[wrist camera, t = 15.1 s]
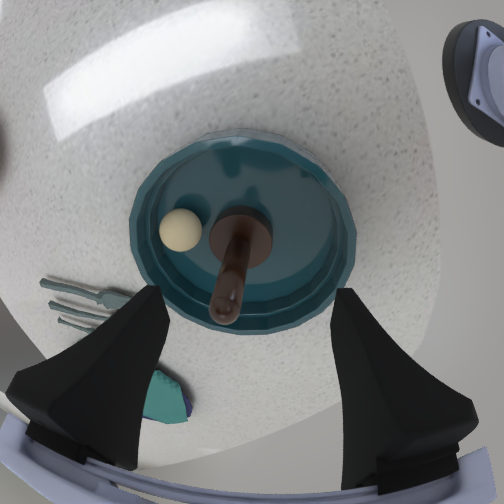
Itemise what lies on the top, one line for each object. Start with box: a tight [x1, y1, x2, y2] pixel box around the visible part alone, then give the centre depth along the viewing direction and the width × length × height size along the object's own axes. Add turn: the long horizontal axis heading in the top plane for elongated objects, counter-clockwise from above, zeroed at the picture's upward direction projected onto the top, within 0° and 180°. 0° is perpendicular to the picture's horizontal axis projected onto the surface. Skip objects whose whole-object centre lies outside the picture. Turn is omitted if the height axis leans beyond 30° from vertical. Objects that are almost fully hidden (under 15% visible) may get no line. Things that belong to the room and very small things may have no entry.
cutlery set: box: [39, 278, 193, 424], centre depth 33 cm, size 20×30×2 cm, turn 174°
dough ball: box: [159, 208, 202, 252], centre depth 19 cm, size 3×3×3 cm
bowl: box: [129, 128, 357, 335], centre depth 20 cm, size 15×15×4 cm
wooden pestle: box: [209, 206, 273, 325], centre depth 17 cm, size 4×4×9 cm
